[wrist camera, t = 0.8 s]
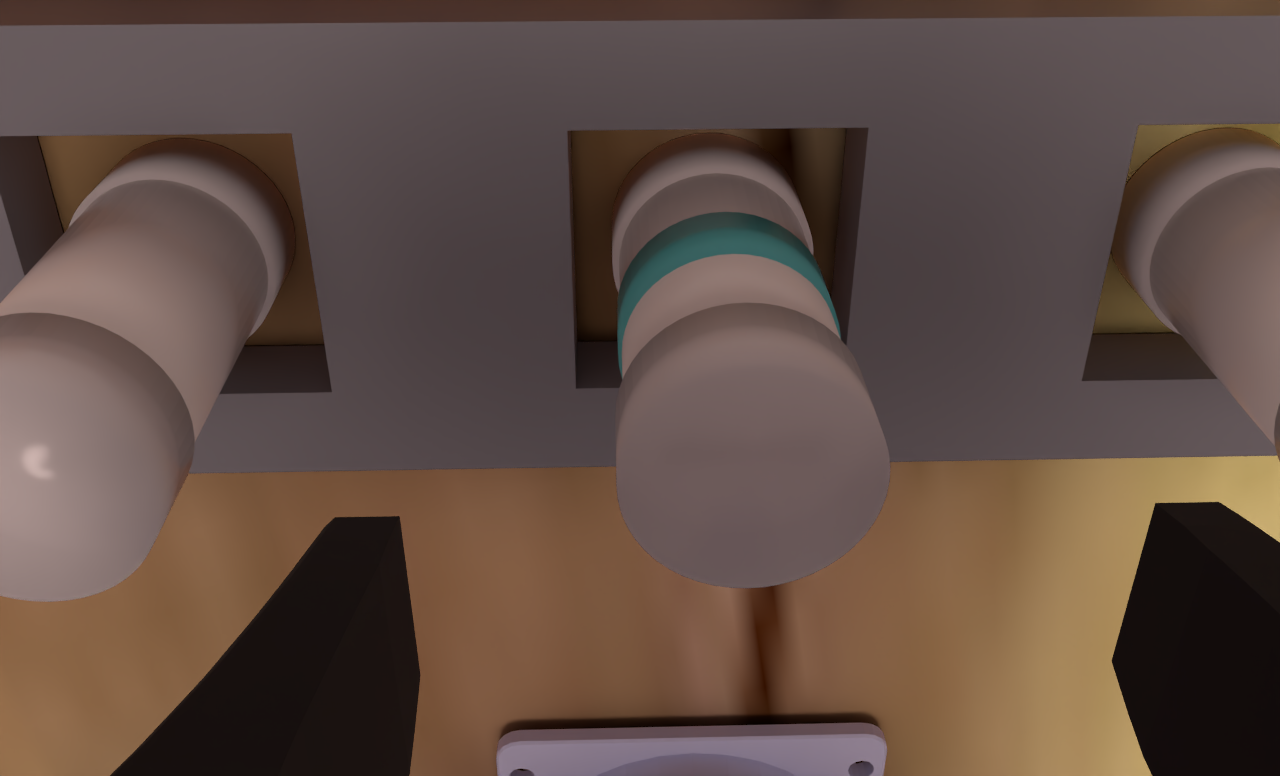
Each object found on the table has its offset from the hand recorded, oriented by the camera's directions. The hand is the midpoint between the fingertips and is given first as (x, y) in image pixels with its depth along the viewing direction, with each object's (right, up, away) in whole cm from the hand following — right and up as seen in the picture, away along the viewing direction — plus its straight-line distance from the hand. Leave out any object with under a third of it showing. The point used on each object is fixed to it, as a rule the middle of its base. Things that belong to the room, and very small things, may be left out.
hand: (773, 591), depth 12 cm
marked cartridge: (0, +5, +8) cm, 9 cm away
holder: (0, +5, +8) cm, 9 cm away
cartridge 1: (-8, +4, +7) cm, 12 cm away
